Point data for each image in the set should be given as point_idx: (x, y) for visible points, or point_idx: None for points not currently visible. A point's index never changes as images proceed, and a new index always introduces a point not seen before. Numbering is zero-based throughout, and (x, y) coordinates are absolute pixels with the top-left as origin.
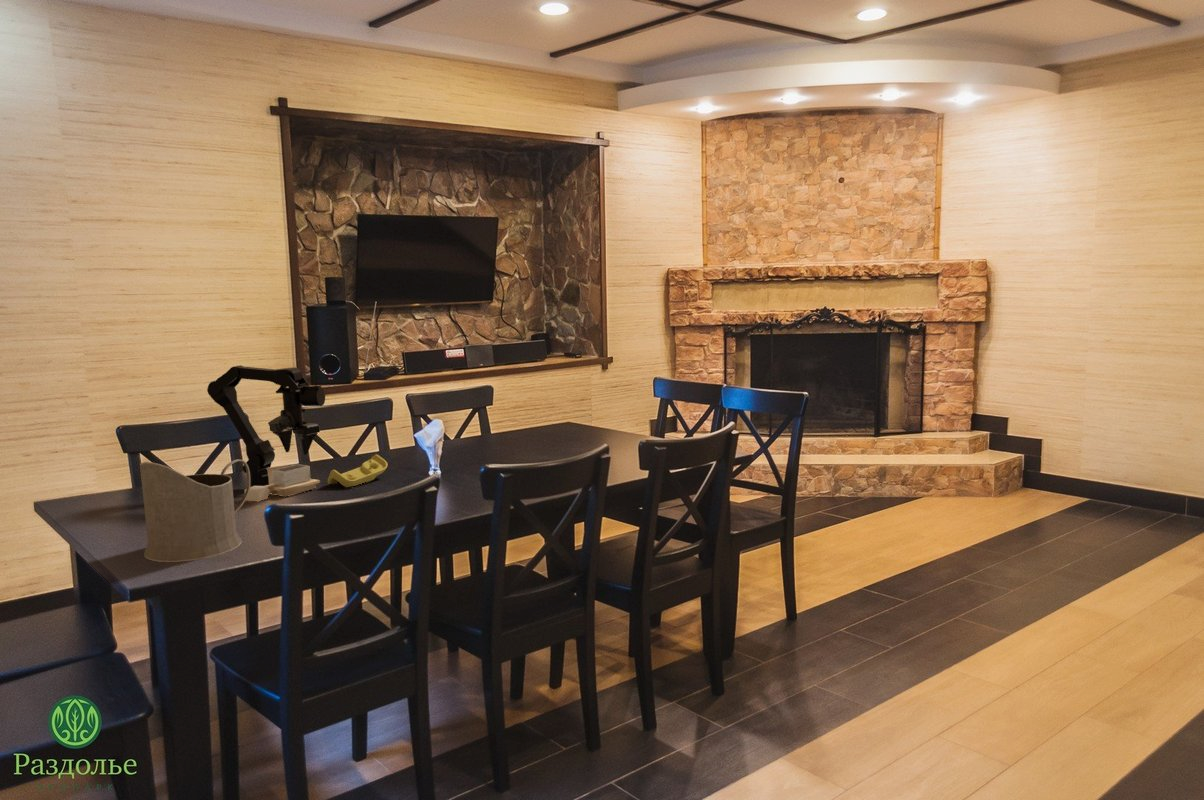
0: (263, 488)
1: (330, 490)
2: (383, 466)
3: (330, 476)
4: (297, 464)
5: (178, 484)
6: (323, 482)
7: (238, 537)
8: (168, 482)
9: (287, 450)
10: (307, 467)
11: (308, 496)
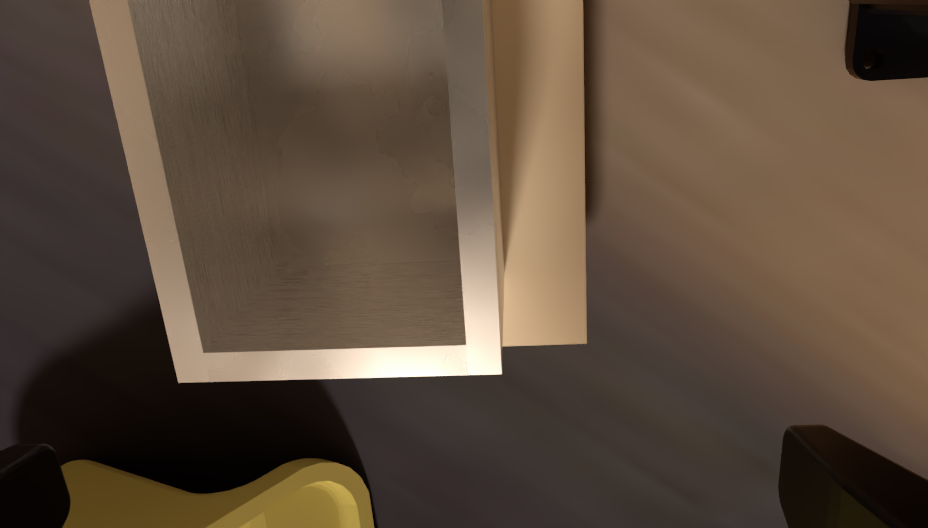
0: None
1: (106, 325)
2: None
3: (226, 499)
4: (487, 356)
5: None
6: (490, 494)
7: None
8: None
9: (798, 479)
10: (176, 331)
11: (25, 28)
